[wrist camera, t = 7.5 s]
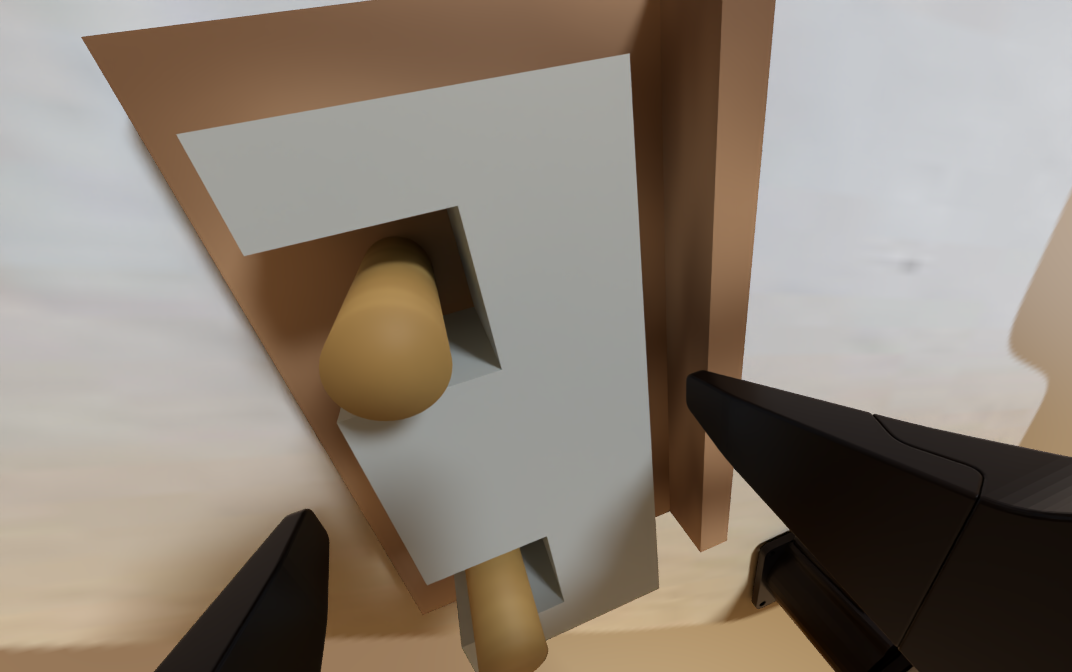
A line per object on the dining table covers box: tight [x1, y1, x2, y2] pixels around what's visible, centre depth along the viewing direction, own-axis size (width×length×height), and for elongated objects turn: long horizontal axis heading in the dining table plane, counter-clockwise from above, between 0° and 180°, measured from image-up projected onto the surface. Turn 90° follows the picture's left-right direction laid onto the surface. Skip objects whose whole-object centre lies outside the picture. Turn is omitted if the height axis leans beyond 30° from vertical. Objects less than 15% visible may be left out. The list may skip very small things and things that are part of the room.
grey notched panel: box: [176, 53, 659, 672], centre depth 10 cm, size 14×6×4 cm, turn 11°
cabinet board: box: [82, 0, 776, 672], centre depth 10 cm, size 18×12×6 cm, turn 11°
